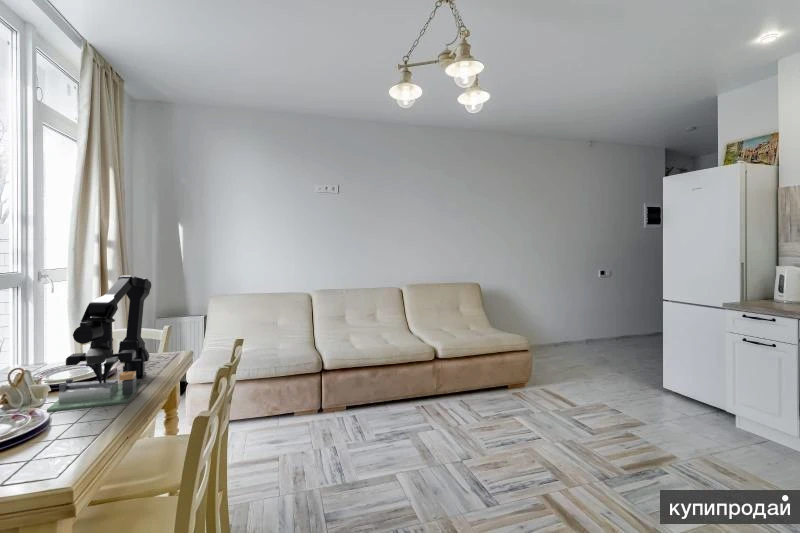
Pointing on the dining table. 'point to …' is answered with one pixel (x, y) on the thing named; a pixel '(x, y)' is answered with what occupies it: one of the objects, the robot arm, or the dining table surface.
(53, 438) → the dining table surface
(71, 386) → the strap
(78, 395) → the green flat square base
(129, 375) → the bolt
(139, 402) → the dining table surface
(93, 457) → the dining table surface
